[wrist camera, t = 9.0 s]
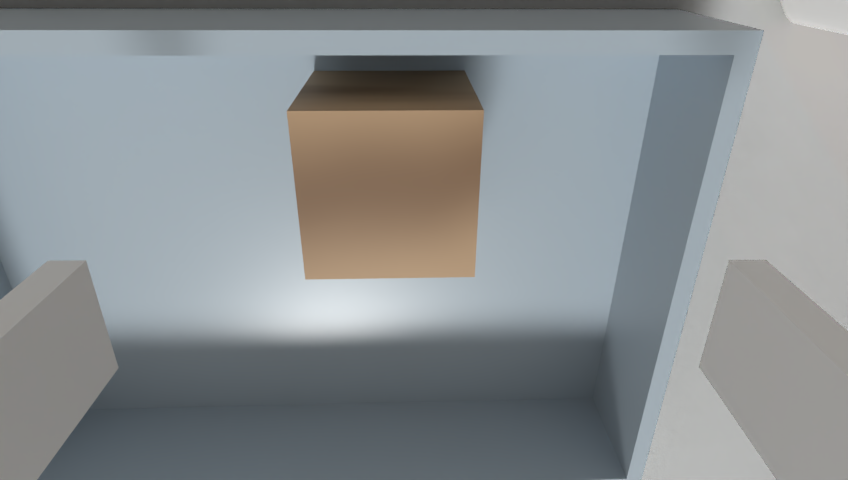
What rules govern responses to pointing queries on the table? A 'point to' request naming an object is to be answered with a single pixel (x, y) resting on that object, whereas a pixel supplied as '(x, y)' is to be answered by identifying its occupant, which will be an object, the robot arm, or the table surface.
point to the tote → (368, 298)
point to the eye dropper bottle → (818, 14)
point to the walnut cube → (387, 173)
